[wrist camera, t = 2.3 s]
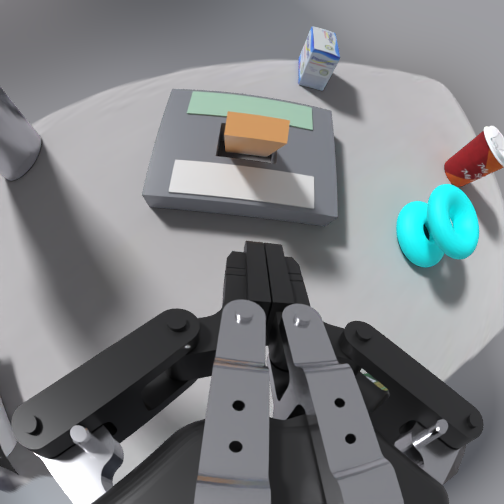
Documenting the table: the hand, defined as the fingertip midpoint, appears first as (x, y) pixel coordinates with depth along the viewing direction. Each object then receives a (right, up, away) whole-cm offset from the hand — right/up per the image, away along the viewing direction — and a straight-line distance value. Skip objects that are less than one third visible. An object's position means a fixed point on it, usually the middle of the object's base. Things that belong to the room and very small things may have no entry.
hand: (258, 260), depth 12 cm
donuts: (+25, +3, +25) cm, 35 cm away
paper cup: (+39, +15, +29) cm, 50 cm away
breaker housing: (-1, +13, +23) cm, 26 cm away
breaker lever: (-1, +13, +20) cm, 24 cm away
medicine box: (+10, +31, +28) cm, 43 cm away
